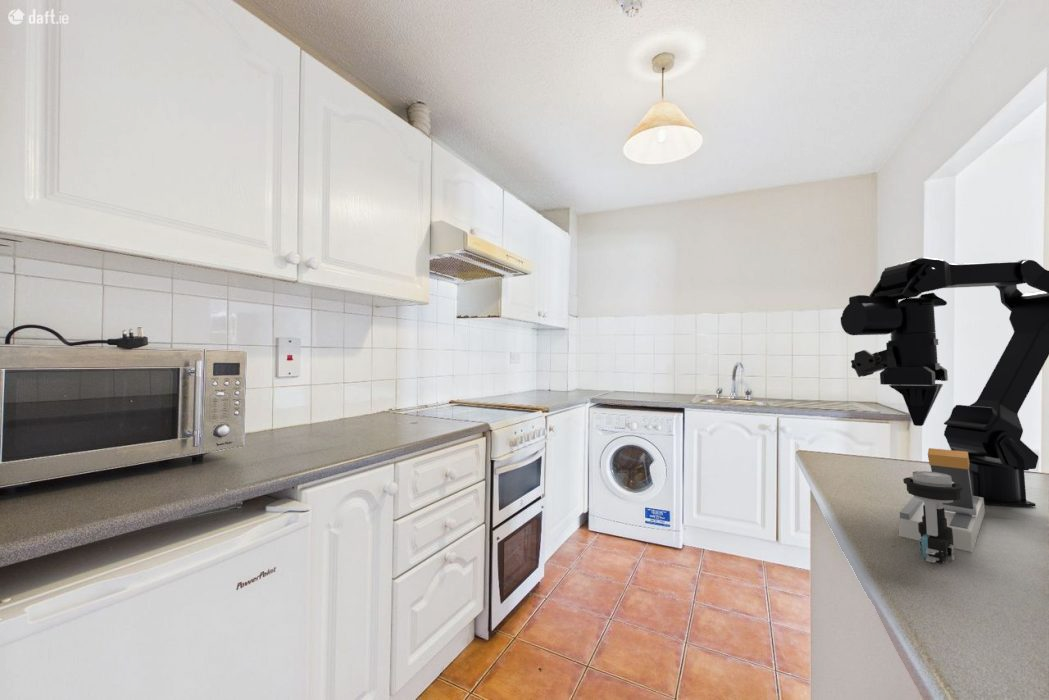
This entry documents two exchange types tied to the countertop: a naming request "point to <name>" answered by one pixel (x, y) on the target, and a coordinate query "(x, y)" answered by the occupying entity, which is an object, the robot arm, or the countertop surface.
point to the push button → (934, 512)
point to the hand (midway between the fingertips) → (918, 425)
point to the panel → (961, 524)
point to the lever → (955, 477)
